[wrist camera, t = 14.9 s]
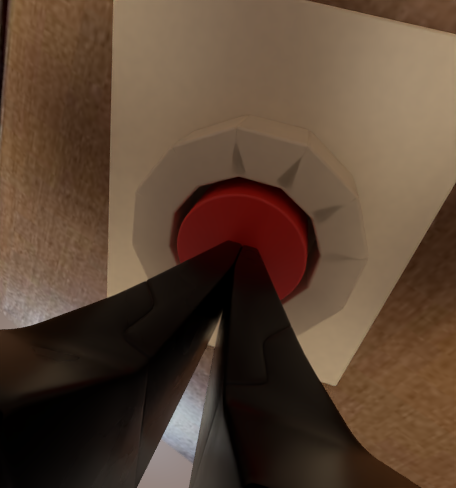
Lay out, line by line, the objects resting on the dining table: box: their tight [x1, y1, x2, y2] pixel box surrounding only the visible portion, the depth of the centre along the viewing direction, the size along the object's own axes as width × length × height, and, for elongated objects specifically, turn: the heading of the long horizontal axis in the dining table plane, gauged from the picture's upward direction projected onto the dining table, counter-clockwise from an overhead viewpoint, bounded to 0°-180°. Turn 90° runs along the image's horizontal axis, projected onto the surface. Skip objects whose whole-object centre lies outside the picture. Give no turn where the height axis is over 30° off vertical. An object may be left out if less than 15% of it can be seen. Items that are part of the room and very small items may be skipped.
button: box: [177, 177, 308, 300], centre depth 10 cm, size 4×4×2 cm
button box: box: [107, 0, 456, 386], centre depth 11 cm, size 10×12×4 cm
